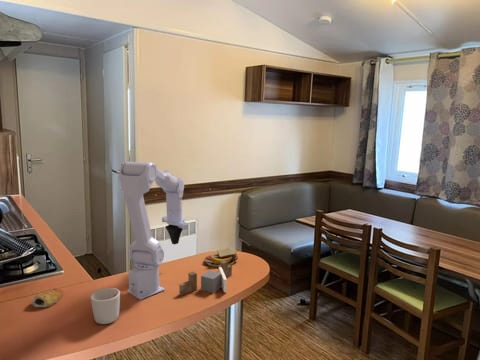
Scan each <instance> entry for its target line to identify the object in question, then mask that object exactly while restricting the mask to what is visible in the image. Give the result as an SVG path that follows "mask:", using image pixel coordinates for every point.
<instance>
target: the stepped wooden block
mask: <svg viewBox="0 0 480 360" xmlns="http://www.w3.org/2000/svg"><path fill="white" fill-rule="evenodd" d="M220 265H221V267H222V269H223V272H224V274H225V276H226V279H228V277H231V276H232V275H233V266H232V265H229V266H228V262H227V261H224V260H223V261H221V262H220ZM197 274H198V273H197V272H195V271H191V272H188V277H187V278H188V280H186V281H183V282H182V283H180V284H179V295H180V296H184V295H186V294H188V293H189V294H190V293H191V292H192V293H193V292H196V291H198V275H197Z"/></svg>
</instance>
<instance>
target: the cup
mask: <svg viewBox="0 0 480 360" xmlns="http://www.w3.org/2000/svg"><path fill="white" fill-rule="evenodd" d="M89 298H90V304H91V307H92V313H93V318H94V321H95V322H96V323H97V324H99V325H108V324H111V323H114V322H115V321H116V320H117V319H118V318H119V317H120V316H119V315H120V303H121V302H120V301H121V291H120V290H119V289H118V288H114V287H105V288H104V287H103V288H100V289H98V290H95V291H93V292H92V293H91V294H90V297H89Z"/></svg>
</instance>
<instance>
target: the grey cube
mask: <svg viewBox="0 0 480 360" xmlns="http://www.w3.org/2000/svg"><path fill="white" fill-rule="evenodd" d="M221 288H222V286H221V273H219V272H216V271H212V270H208V271H206V272H205V273H203V274H202V275H200V290H202V291H205V292H209V293H211V294H214V293H216V292H217V291H218V290H219V289H221Z"/></svg>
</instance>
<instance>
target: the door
mask: <svg viewBox="0 0 480 360" xmlns="http://www.w3.org/2000/svg"><path fill="white" fill-rule="evenodd" d="M218 273H221V288H222V291H223V293H228V285H227V284H228V278H226V276H225V274H224V272H223V269H222V267H221V265H219V267H218Z"/></svg>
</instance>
